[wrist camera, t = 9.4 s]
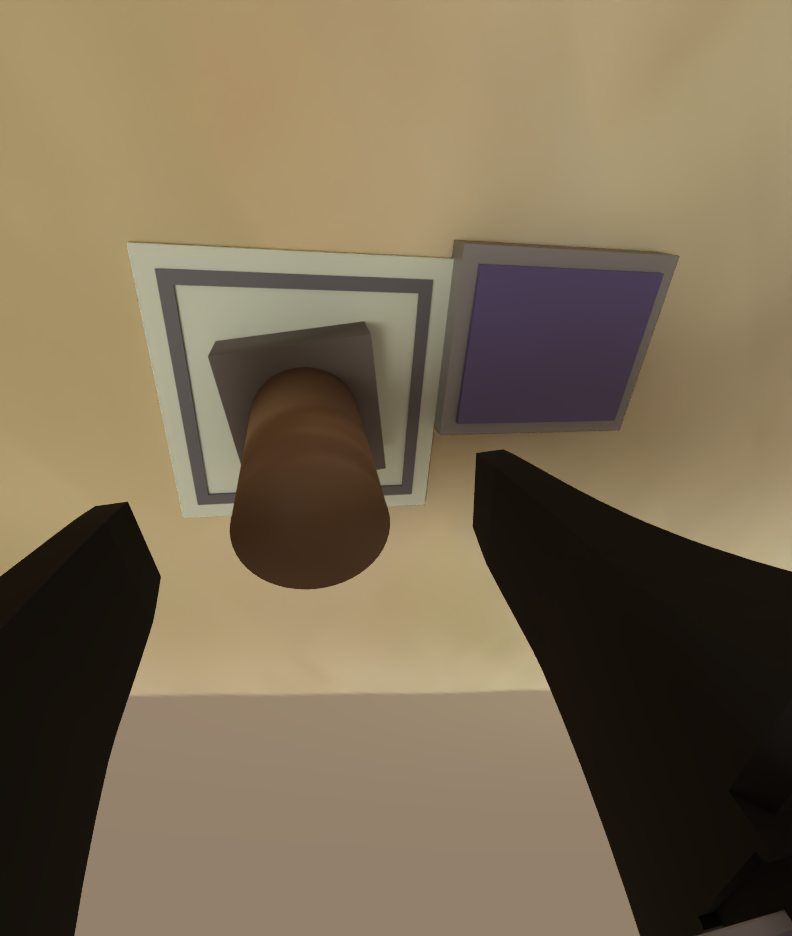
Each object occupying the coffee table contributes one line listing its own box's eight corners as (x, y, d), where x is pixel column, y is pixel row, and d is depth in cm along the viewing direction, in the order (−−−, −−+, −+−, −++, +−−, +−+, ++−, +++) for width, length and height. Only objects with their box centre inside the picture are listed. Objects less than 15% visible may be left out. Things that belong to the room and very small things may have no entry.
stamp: (364, 321, 14) (413, 415, 9) (378, 447, 17) (425, 587, 11) (215, 341, 14) (159, 455, 8) (252, 468, 16) (229, 627, 10)
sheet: (451, 258, 14) (454, 259, 14) (423, 501, 19) (424, 506, 18) (128, 241, 12) (125, 243, 12) (184, 514, 17) (182, 519, 17)
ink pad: (658, 251, 15) (684, 256, 14) (604, 418, 18) (622, 432, 17) (453, 239, 14) (466, 244, 13) (432, 422, 17) (441, 437, 16)
